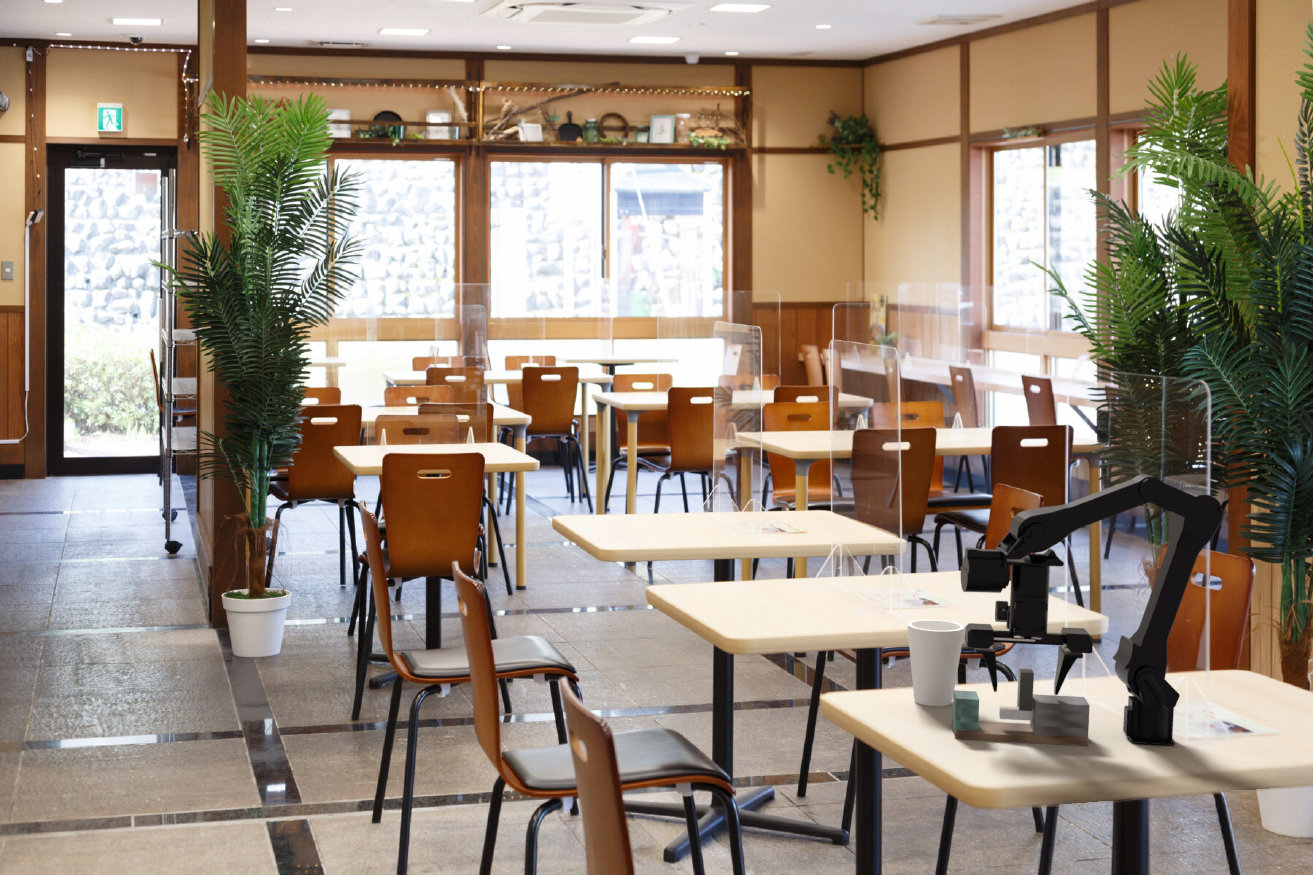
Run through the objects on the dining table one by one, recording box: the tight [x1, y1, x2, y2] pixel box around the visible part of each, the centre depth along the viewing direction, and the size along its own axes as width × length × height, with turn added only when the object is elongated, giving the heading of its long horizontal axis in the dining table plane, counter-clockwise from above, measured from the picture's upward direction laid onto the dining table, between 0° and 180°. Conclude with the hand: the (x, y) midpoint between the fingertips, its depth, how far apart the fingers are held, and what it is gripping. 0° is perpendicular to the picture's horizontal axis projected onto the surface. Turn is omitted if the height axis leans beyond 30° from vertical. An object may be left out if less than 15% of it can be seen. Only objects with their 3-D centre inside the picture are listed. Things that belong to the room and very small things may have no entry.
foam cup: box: [906, 619, 965, 707], centre depth 241 cm, size 10×9×13 cm
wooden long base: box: [951, 689, 1090, 747], centre depth 222 cm, size 20×7×6 cm, turn 83°
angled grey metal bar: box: [998, 668, 1035, 721], centre depth 221 cm, size 13×2×8 cm, turn 83°
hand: (1025, 692), depth 222 cm, fingers open, 9 cm apart
